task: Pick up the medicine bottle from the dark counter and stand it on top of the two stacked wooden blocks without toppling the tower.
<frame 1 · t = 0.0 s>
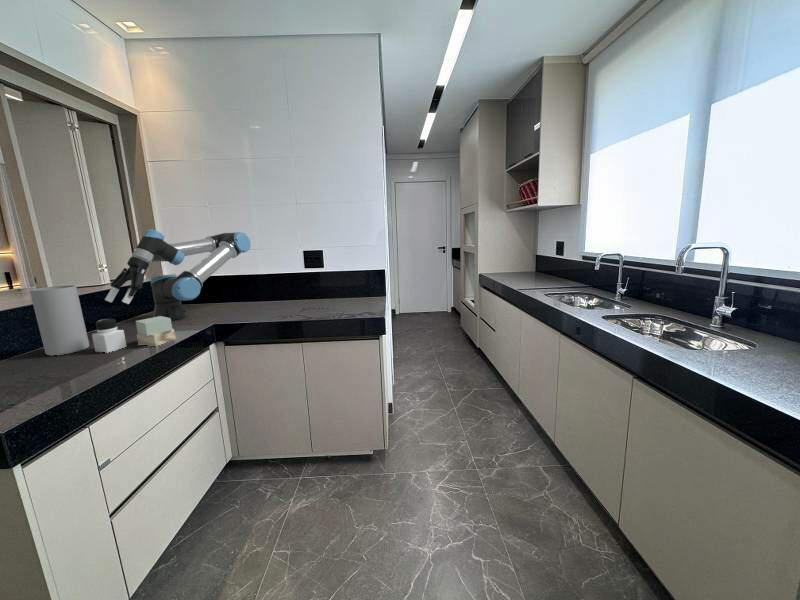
hand: (116, 302, 150), 15 cm above the countertop, tool tilted 35°, fingers open, 13 cm apart
lower block: (157, 343, 140), on the countertop
medicine bottle: (111, 350, 134), on the countertop
upper block: (155, 331, 140), point 5 cm above the countertop
cylinder vase: (68, 351, 134), on the countertop
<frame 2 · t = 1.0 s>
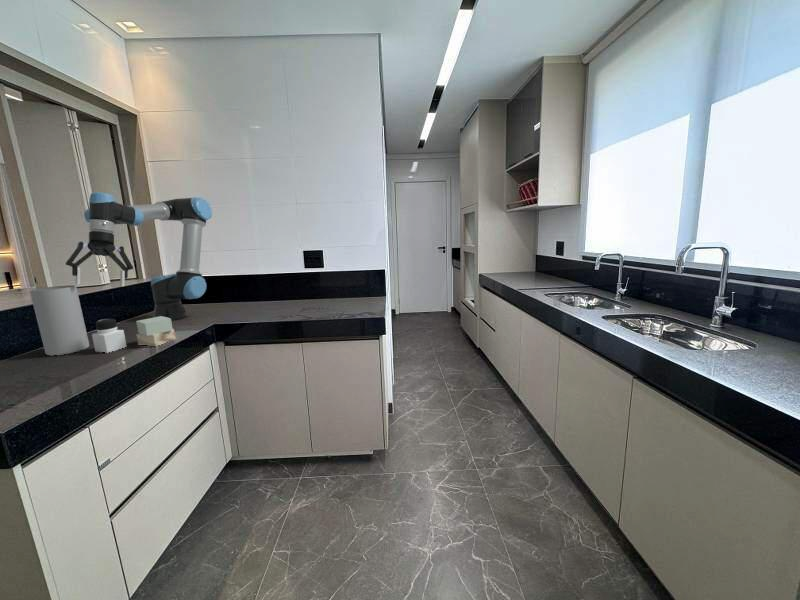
hand: (100, 285, 136), 24 cm above the countertop, tool pointing down, fingers open, 13 cm apart
lower block: (157, 343, 140), on the countertop, touching upper block
upper block: (155, 331, 139), point 5 cm above the countertop, touching lower block
everything else where it was.
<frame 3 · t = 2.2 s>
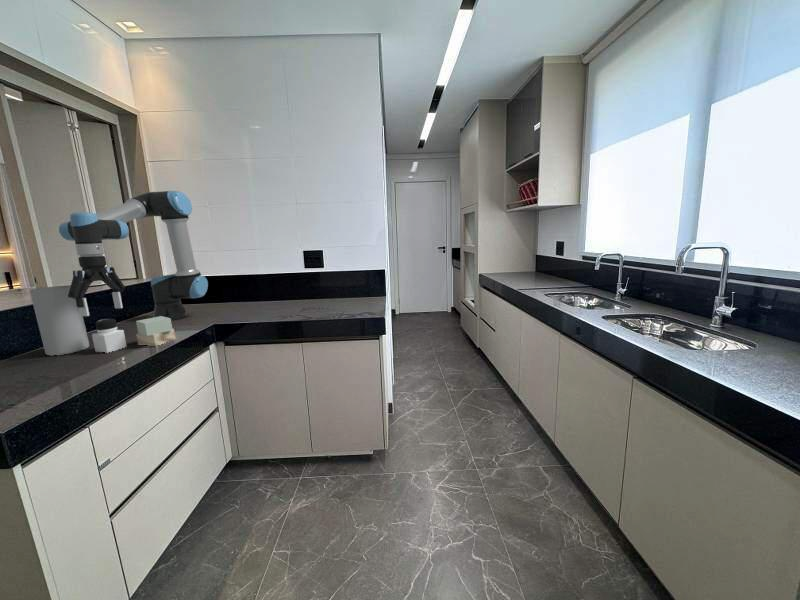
hand: (102, 311, 130), 15 cm above the countertop, tool pointing down, fingers open, 13 cm apart
nothing on the countertop moved.
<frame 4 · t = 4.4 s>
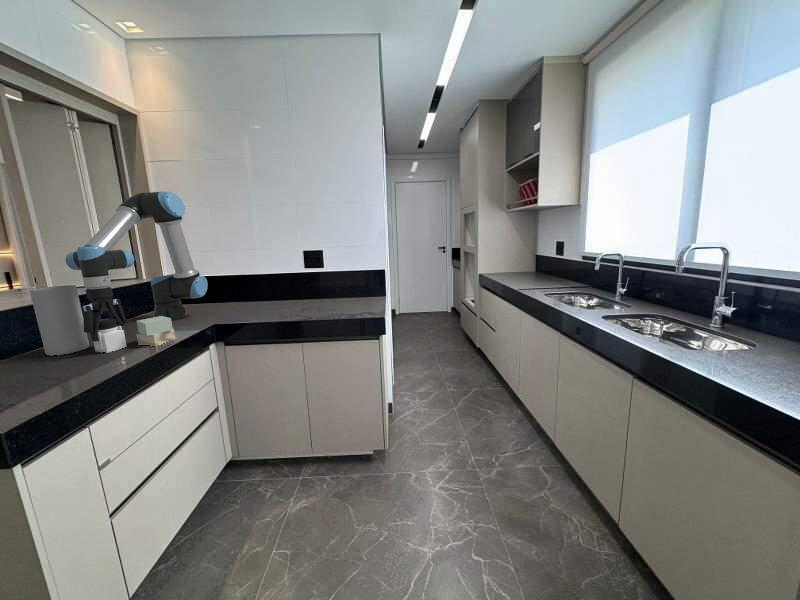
hand: (110, 345, 133), 2 cm above the countertop, tool pointing down, fingers closed on medicine bottle, 8 cm apart
medicine bottle: (111, 350, 134), on the countertop, touching gripper
everything else where it was.
when the fingers open (13 cm above the countertop, at t = 8.7 s): medicine bottle drops 2 cm, resting on upper block.
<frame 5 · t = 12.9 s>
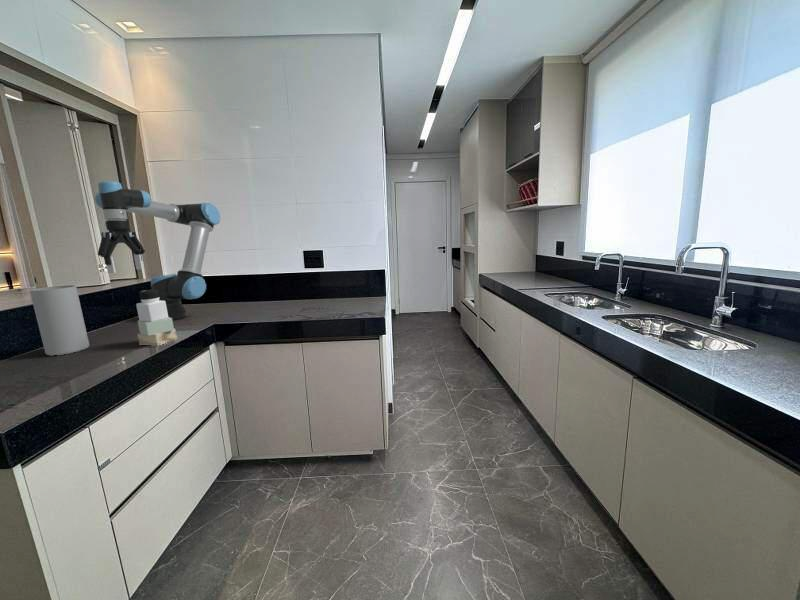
hand: (126, 271, 147), 29 cm above the countertop, tool pointing down, fingers open, 13 cm apart
medicine bottle: (154, 319, 138), point 10 cm above the countertop, touching upper block
upper block: (157, 331, 139), point 5 cm above the countertop, touching lower block, medicine bottle
everything else where it was.
at the end: medicine bottle inside the target area on the upper block (0.2 cm from its centre), point 4.9 cm above the upper block's base; medicine bottle tilted 1°; upper block point 4.7 cm above the countertop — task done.
